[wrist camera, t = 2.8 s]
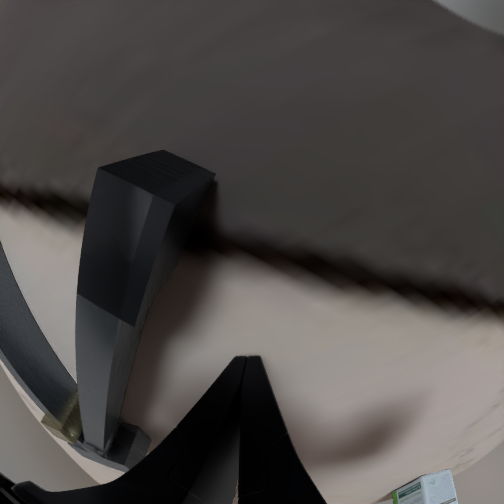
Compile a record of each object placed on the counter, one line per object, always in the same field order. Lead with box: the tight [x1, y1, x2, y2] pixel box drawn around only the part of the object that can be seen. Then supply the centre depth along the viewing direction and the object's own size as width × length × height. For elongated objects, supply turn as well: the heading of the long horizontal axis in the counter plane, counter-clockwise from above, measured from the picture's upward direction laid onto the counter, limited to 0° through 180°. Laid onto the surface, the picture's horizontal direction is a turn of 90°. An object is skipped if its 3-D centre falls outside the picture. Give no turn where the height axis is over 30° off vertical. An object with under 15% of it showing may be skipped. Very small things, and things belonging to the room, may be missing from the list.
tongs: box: [0, 243, 151, 472], centre depth 10 cm, size 20×5×4 cm, turn 8°
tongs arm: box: [75, 150, 216, 459], centre depth 9 cm, size 17×2×3 cm, turn 153°
